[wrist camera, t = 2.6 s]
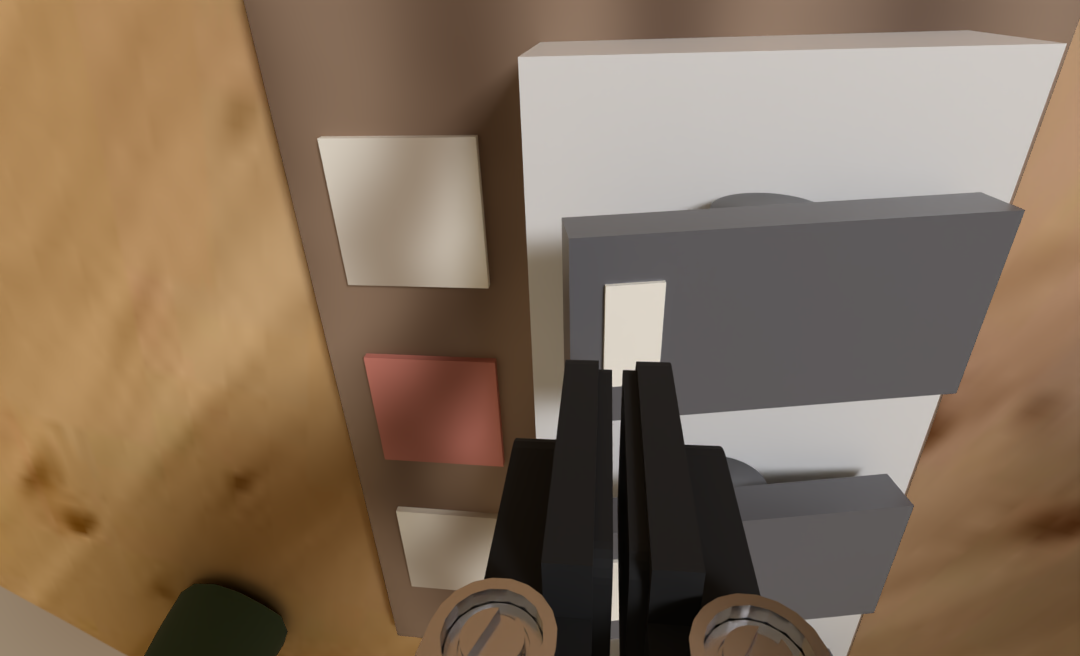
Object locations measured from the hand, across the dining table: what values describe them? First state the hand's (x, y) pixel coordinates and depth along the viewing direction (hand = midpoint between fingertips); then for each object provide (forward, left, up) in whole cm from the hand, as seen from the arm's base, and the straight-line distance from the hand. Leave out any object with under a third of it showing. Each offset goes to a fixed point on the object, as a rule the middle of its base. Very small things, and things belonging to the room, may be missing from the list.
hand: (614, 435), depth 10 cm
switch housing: (-3, +8, -10) cm, 13 cm away
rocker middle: (-3, +8, -6) cm, 10 cm away
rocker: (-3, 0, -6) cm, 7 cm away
